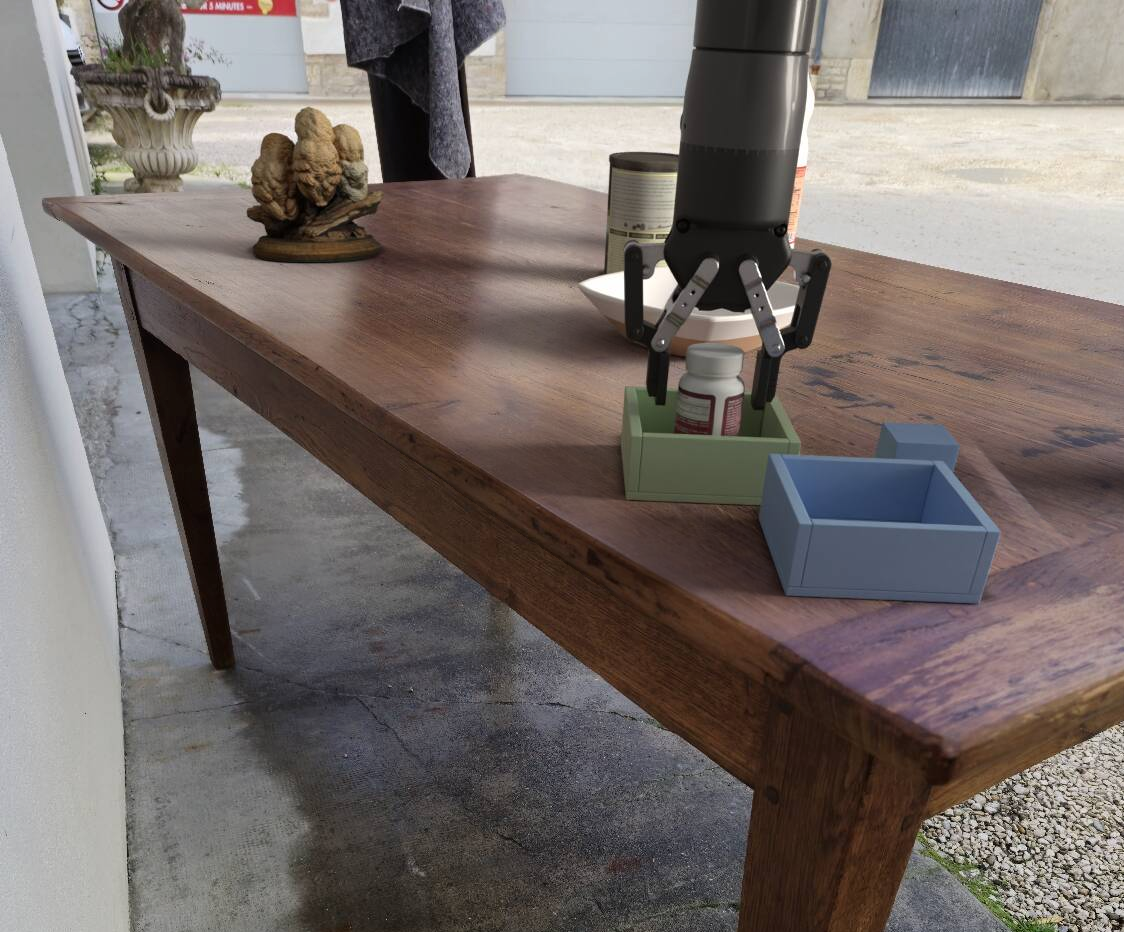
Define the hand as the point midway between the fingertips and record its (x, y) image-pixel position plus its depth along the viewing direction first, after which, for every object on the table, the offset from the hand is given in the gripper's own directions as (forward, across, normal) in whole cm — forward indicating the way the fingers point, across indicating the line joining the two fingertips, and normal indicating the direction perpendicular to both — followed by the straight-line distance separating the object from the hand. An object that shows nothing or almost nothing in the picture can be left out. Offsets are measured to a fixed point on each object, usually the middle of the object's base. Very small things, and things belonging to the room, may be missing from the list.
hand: (708, 404), depth 75 cm
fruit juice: (+5, +17, +89) cm, 91 cm away
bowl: (+5, +3, +39) cm, 39 cm away
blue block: (+5, +15, -2) cm, 16 cm away
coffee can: (+5, -1, +69) cm, 69 cm away
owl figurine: (+5, -44, +77) cm, 89 cm away
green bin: (+5, 0, 0) cm, 5 cm away
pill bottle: (+5, 0, 0) cm, 5 cm away
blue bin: (+5, +9, -14) cm, 17 cm away
